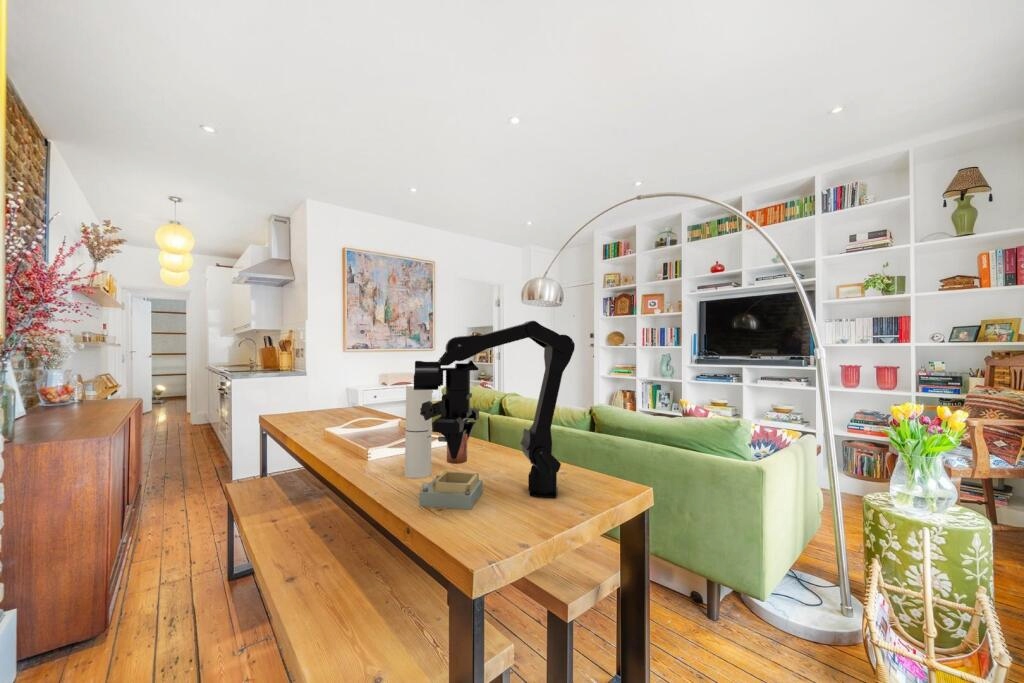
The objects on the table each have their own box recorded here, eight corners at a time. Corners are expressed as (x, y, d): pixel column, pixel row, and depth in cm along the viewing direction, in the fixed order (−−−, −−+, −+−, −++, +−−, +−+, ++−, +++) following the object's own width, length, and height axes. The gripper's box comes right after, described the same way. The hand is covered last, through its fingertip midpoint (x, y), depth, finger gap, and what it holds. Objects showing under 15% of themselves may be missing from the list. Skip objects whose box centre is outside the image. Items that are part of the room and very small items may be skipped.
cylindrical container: (400, 474, 115) (401, 384, 116) (422, 469, 120) (423, 383, 121) (413, 480, 110) (414, 386, 110) (435, 474, 115) (437, 385, 115)
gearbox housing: (482, 492, 101) (482, 472, 102) (470, 509, 91) (471, 486, 91) (429, 488, 104) (430, 468, 104) (412, 505, 93) (412, 483, 93)
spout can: (469, 458, 99) (469, 429, 99) (464, 464, 94) (464, 433, 94) (442, 457, 100) (442, 428, 100) (435, 462, 95) (435, 432, 95)
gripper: (438, 385, 108) (437, 444, 107) (409, 393, 89) (408, 465, 89) (479, 386, 106) (479, 446, 106) (459, 394, 87) (458, 467, 87)
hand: (457, 455), depth 97 cm, fingers closed on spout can, 5 cm apart
